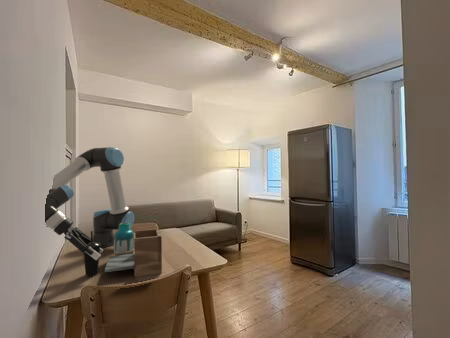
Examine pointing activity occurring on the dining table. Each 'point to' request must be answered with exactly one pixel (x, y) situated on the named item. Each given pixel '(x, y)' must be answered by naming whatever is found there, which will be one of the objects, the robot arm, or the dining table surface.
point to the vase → (124, 240)
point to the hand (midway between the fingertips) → (99, 255)
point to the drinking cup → (91, 263)
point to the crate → (141, 255)
